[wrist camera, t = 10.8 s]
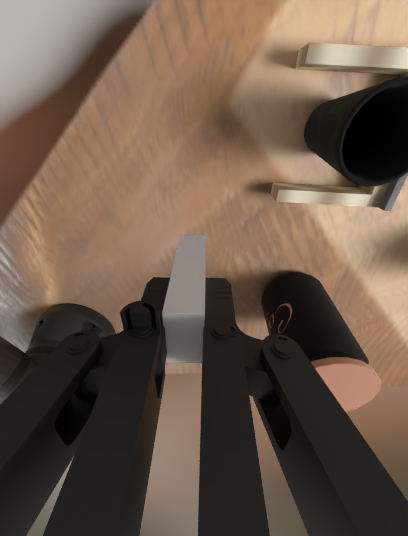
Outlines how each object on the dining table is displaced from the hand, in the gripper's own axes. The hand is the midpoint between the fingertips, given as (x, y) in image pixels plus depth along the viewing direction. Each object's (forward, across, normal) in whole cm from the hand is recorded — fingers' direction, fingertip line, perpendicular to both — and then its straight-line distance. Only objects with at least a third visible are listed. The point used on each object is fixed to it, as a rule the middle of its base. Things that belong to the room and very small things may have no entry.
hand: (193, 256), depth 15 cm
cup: (+21, +15, +6) cm, 27 cm away
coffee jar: (+22, +16, -19) cm, 33 cm away
